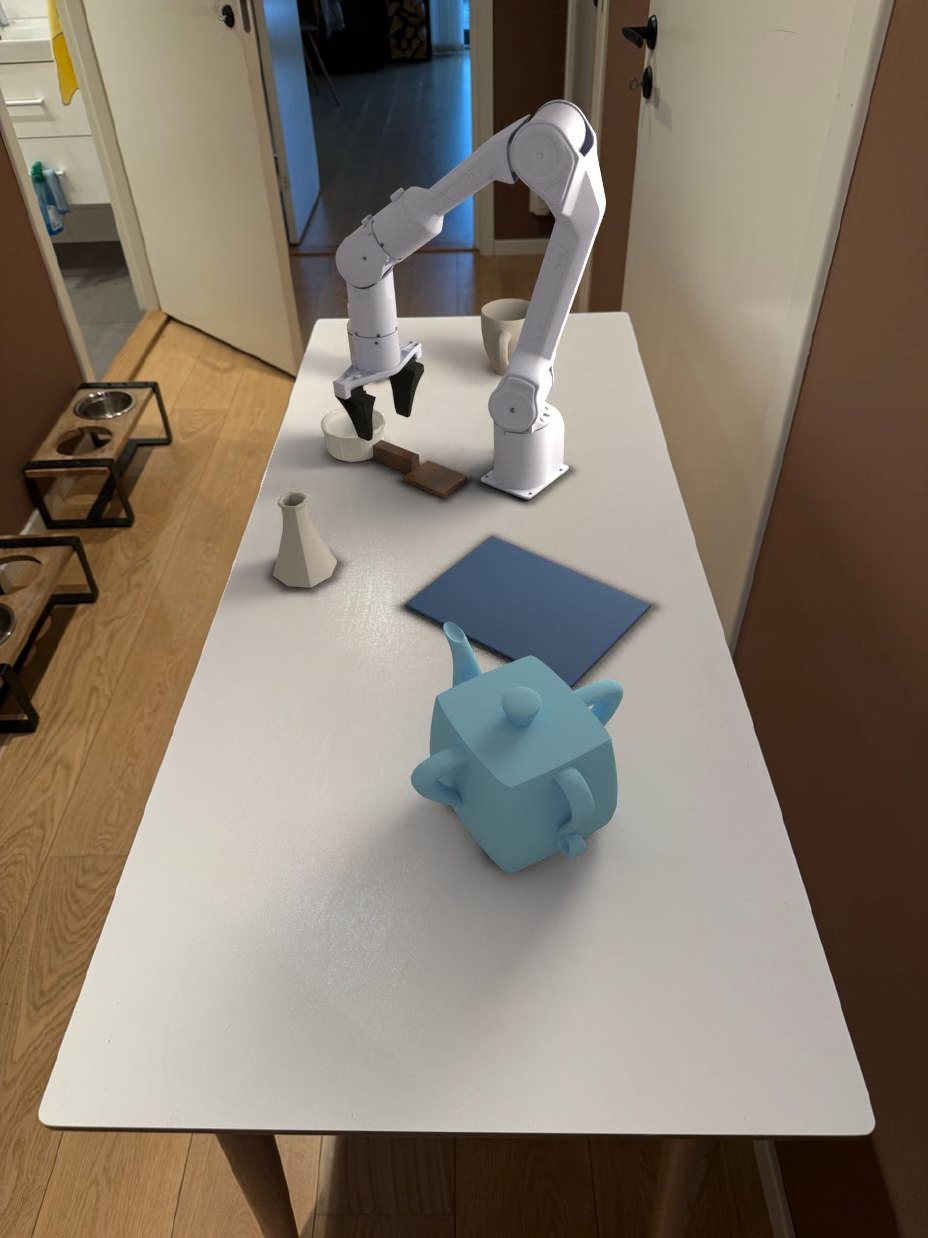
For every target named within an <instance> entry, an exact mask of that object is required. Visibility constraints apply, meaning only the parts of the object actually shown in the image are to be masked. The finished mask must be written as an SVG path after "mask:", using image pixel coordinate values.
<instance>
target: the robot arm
mask: <svg viewBox="0 0 928 1238" xmlns="http://www.w3.org/2000/svg"><path fill="white" fill-rule="evenodd" d="M534 113H535V114H534V115H533V117H532V118H531V119H530V116H531V114H530V113H529V114H527V115H525V116H524V117H522V118H520V119H517V120H516V121H515V122H513V123H511V124H510V125H508V126H506V127H505V128H503V129H502V130H500V131H498V132H497V133H495V134H494V135H493V136H491V137H490V138H488V139H487V140H486V141H485V142H484V143H483V144H481V145H480V146H479V147H478V148H476V149H475V150H474V151H473V152H472V153H470V155H468V156H467V157H466V158H464V160H462V161H461V162H460V163H459V164H457V165H456V166H455V167H454V168H452V169H451V170H450V171H449V172H447V173H446V174H445V175H444V176H443V177H442V178H441V179H439V180H438V181H437V182H435V183H434V184H433V185H432V186H430V188H424V187H420V186H410V187H409V188H407V189H406V190H404V188H403V187H400V188H398V189H397V190H396V191H395V192H394V193H392V194H391V195H390V196H389V198H390V200H391V202H390V203H388V204H387V205H386V206H385V207H383V208H382V209H380V210H379V212H376V213H375V214H374V215H372V214H370V213H369V214H368V215H366V216H365V217H364V218H363V219H362V220H361V225H360V226H359V227H358V228H357V229H355V230H354V231H353V232H352V233H350V234H349V235H348V236H345V238H344V239H343V240H342V242H341V243H340V244H339V246H338V248H337V249H336V252H335V265H336V268H337V271H338V273H339V274H340V276H341V278H343V280H344V281H345V283H346V290H347V301H348V302H349V310H350V318H349V319H351V327H352V335H353V344H354V353H355V355H353V356H352V362H353V364H350V366H349V367H348V368H347V369H345V371H344V372H343V373H342V374H341V375H340V376H339V377H337V378H336V379H334V380H332V385H333V393H334V394H333V395H334V397H335V398H336V399H337V400H338V401H339V403H340V405H341V406H342V408H343V407H344V408H345V410H346V411H347V413H348V415H349V417H350V419H351V421H352V423H353V425H354V428H355V430H356V433H357V435H358V437H359V438H361V439H364V440H366V441H370V440H372V438H373V422H372V415H373V408H374V407H375V402H376V400H377V397H376V396H375V395H372V394H369V393H367V390H366V389H365V386H366V385H369V384H370V383H372V382H375V381H378V380H382V379H385V378H388V380H389V384H390V387H391V393H392V399H393V407H394V411H395V413H396V415H398V416H402V417H404V418H406V419H407V418H409V417H411V414H412V411H413V405H414V401H415V400H414V399H415V396H416V393H417V388H418V387H419V383H420V381H421V379H422V376H423V375H424V373H425V365H424V364H423V363H421V362H419V361H417V360H420V359H421V358H422V357H423V355H422V344H421V343H419V342H416V341H413V340H411V339H409V340H407V341H405V342H403V343H402V342H401V343H400V337H399V326H398V313H397V302H396V291H395V282H394V272H393V271H394V269H393V268H394V266H395V265H396V264H399V263H401V262H403V261H404V260H406V259H407V258H408V257H409V256H411V255H412V254H413V253H414V252H416V251H418V250H419V249H420V248H422V247H423V246H424V245H426V244H427V243H428V242H430V241H431V240H432V239H434V238H436V237H437V236H438V235H440V233H441V232H442V230H443V225H444V217H445V215H446V214H447V213H449V212H451V210H453V209H455V208H456V207H457V206H459V205H461V204H462V203H463V202H465V201H467V200H468V199H469V198H470V197H472V196H474V195H475V194H476V193H477V192H479V191H480V190H482V189H484V188H485V187H486V186H488V185H489V184H491V183H492V182H494V181H498V182H501V183H505V184H508V185H509V184H510V185H515V183H516V182H517V181H518V180H519V179H520V180H521V182H523V183H524V185H526V186H527V187H528V188H529V189H530V190H531V191H532V192H533V193H535V194H536V195H537V196H538V197H539V198H541V200H543V201H544V202H545V204H546V205H547V207H548V209H549V211H550V212H551V214H552V215H553V217H554V219H555V222H554V225H553V229H552V232H551V235H550V238H549V241H548V244H547V248H546V250H545V254H544V257H543V260H542V263H541V266H540V270H539V273H538V275H537V279H536V282H535V286H534V288H533V292H532V295H531V298H530V301H529V302H530V304H529V308H528V311H527V314H526V317H525V320H524V323H523V327H522V330H521V333H520V336H519V339H518V343H517V346H516V349H515V351H514V354H513V356H512V359H511V361H510V363H509V365H508V367H507V370H506V372H505V374H504V375H502V377H501V379H500V381H499V383H498V385H497V386H496V388H495V389H494V390H493V391H492V392H491V394H490V396H489V398H488V403H487V410H488V413H489V416H490V418H491V419H492V422H493V423H492V424H493V469H491V470H490V471H488V472H487V473H485V474H484V475H483V476H481V478H480V482H482V483H483V484H486V485H488V486H491V487H493V488H496V489H498V490H500V491H503V492H506V493H508V494H509V495H510V494H511V495H513V496H516V497H518V498H521V499H523V500H526V501H529V500H531V499H533V498H534V497H535V496H536V495H538V494H540V492H542V491H543V490H544V489H546V488H547V487H548V486H549V485H551V484H552V483H553V482H554V481H556V480H557V479H558V478H560V477H561V476H563V475H564V474H565V473H566V472H568V471H569V465H567V464H565V463H564V453H565V452H564V451H565V450H564V449H565V448H564V447H565V423H564V419H563V417H562V414H561V413H560V412H559V410H558V409H557V408H555V406H554V405H552V404H550V403H547V401H546V400H547V397H548V395H549V394H550V393H551V391H552V390H553V388H554V383H555V373H554V362H555V358H556V356H557V349H558V345H559V343H560V340H561V338H562V334H563V331H564V328H565V326H566V323H567V320H568V317H569V314H570V311H571V308H572V305H573V303H574V299H575V298H576V297H575V296H576V295H577V292H578V289H579V285H580V283H581V280H582V277H583V274H584V271H585V268H586V266H587V262H588V259H589V258H590V254H591V251H592V248H593V245H594V244H595V243H594V242H595V239H596V236H597V235H598V232H599V228H600V226H601V223H602V220H603V216H604V214H605V211H606V202H607V201H606V195H605V190H604V186H603V180H602V174H601V170H600V164H599V158H598V153H597V152H598V151H597V149H598V148H597V134H596V132H595V131H594V129H593V127H592V126H591V124H590V123H589V121H588V119H587V118H586V116H585V114H584V113H583V111H582V110H581V109H580V108H579V107H578V106H577V105H576V104H574V103H573V102H570V101H568V100H565V99H555V100H554V99H553V100H551V101H548V102H546V103H544V104H543V105H542V106H541V107H539V108H538V109H537V110H536V112H534ZM529 119H530V120H529ZM348 302H347V303H348Z"/></svg>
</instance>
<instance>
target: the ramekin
mask: <svg viewBox="0 0 928 1238" xmlns="http://www.w3.org/2000/svg"><path fill="white" fill-rule="evenodd" d="M372 422H373V438H372V440H370V441H366V440H364V439H361V438H359V437H358V435H357V433H356V430H355V428H354V425H353V423H352V421H351V419H350V417H349V415H348V413H347V411H346V410H345V408H344V407H343V406H342V407H339V408H337V409H336V408H335V409H334V410H331V411H329V412H328V413H327V414H325V415H324V417H322V419H321V421H320V428H321V431H322V434H323V436H324V440H325V445H326V448H327V451H328V453H329V454H330V456H332V457H333V458H335V459H337V460H339V461H343V462H351V463H352V462H353V463H355V462H362V461H366V460H371V459H370V458H372V457H373V445H374V444H376V443H377V442H379V441H380V440H383V441H385V425H386V417H385V415H384V413H382V412H381V411H380V410H378V409H376V408H374V407H373V415H372Z"/></svg>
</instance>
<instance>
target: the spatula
mask: <svg viewBox="0 0 928 1238" xmlns="http://www.w3.org/2000/svg"><path fill="white" fill-rule="evenodd" d="M369 460H373V461H375V462H377V463H380V464H382V465H386V466H388V467H390V468H392V469H395V470H397V471H400V472H402V473H405V475H403V476H402V481H403V482H404V483H407V484H409V485H411V486H414V487H416V488H419V489H421V490H424V491H426V492H428V493H431V494H433V495H435V496H438V497H440V498H446V497H447V496H448V495H450V494H452V493H453V492H454V491H456V490H457V489H458V488H460V487H461V486H462V485H465V484H466V483H467V482H468V481H469V475H466V474H464V473H463V472H460V471H456V470H454V469H452V468H449V467H447V466H444V465H441V464H439V463H436V462H434V461H432V460H429V459H428V460H426V461H424V462H423V463H422V464H421V462H420V454H419V453H417V452H414V451H411V450H409V449H406V448H403V447H401V446H399V445H396V444H393V443H391V442H388V441H386V440H384V441H383V440H380V441H379V442H377V443H376V444H374V445H373V457H372V458H370V459H369Z"/></svg>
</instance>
